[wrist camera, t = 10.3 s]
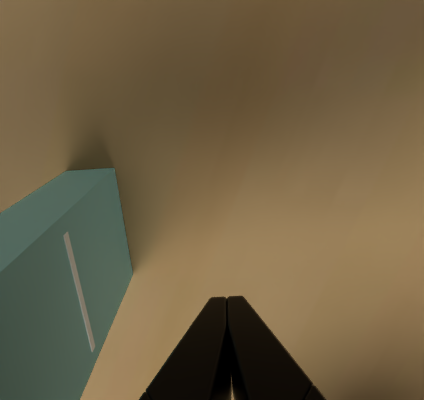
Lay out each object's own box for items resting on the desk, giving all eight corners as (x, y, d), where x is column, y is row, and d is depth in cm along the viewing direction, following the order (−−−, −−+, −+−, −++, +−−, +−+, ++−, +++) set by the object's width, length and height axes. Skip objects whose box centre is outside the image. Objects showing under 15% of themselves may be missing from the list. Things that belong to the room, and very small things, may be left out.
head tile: (115, 167, 14) (-104, 368, 4) (133, 274, 16) (4, 580, 6) (65, 170, 14) (-253, 374, 5) (89, 276, 16) (-105, 581, 6)
